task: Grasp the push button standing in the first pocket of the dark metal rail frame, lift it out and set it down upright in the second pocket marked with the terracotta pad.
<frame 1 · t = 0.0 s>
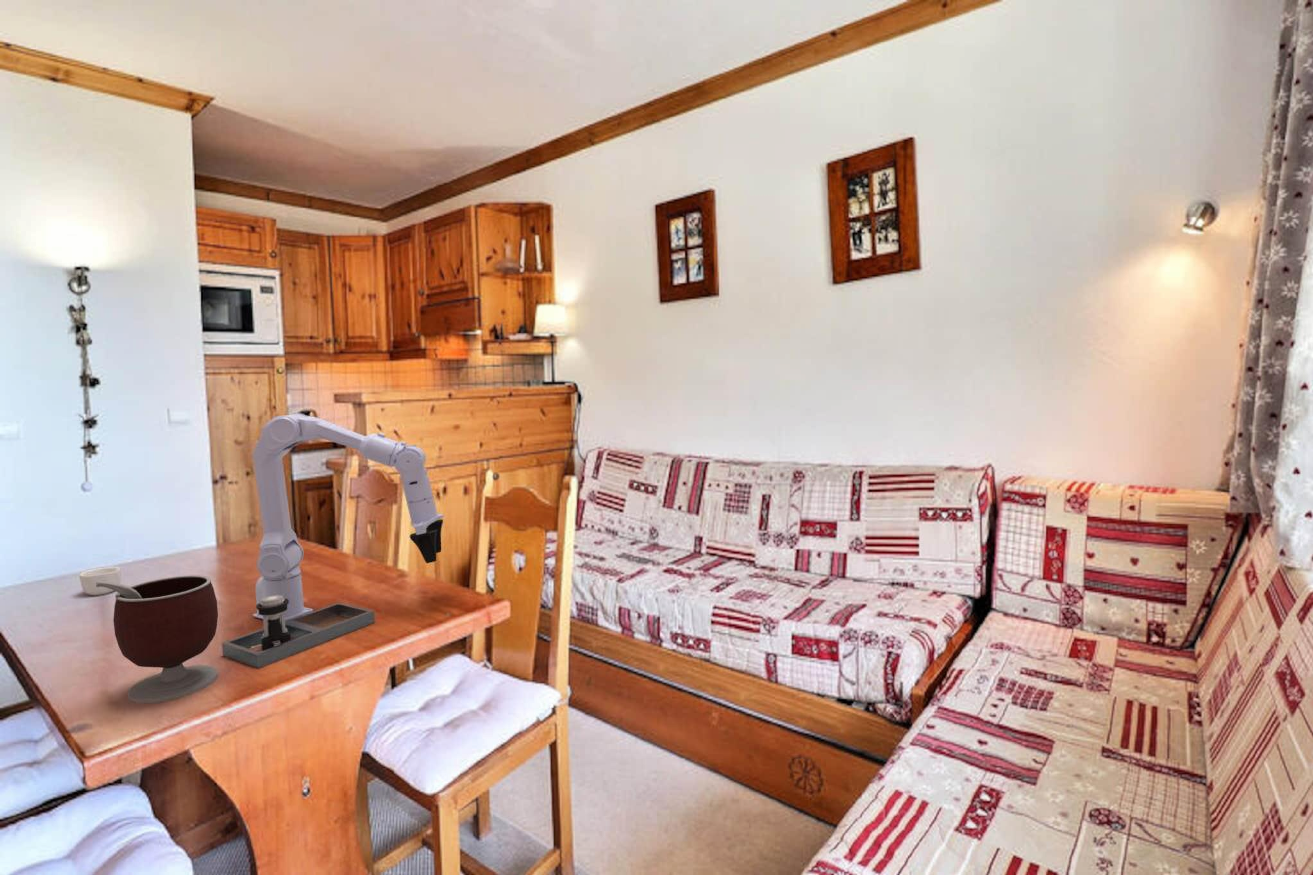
hand: (434, 557, 147), 11 cm above the table, tool pointing down, fingers open, 7 cm apart
mate gourd: (168, 687, 110), on the table
rail frame: (303, 638, 129), on the table
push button: (272, 650, 124), on the table
teacup: (101, 592, 162), on the table
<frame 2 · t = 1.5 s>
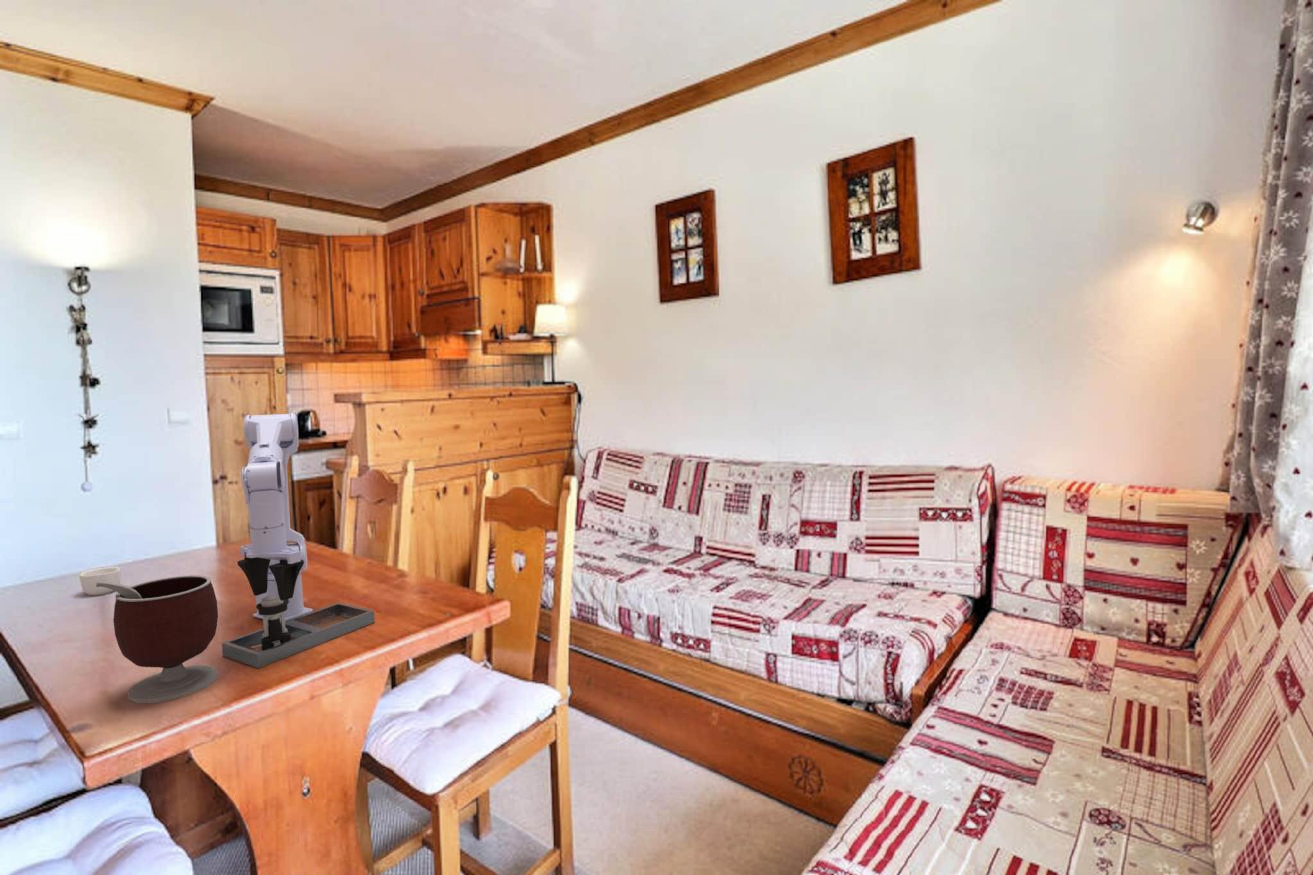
hand: (273, 596, 123), 10 cm above the table, tool pointing down, fingers open, 7 cm apart
nothing on the table moved.
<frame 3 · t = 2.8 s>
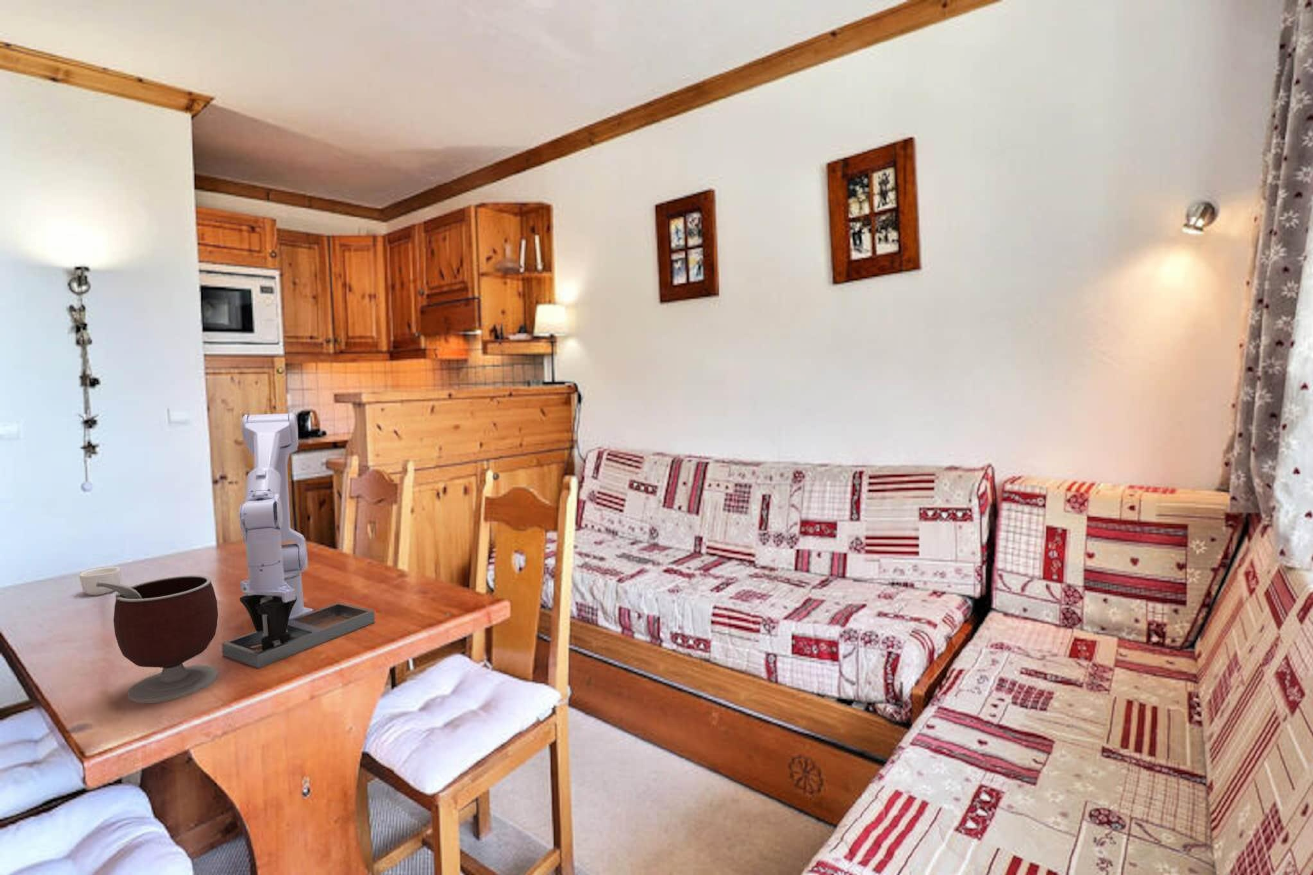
hand: (271, 632, 124), 3 cm above the table, tool pointing down, fingers closed on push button, 5 cm apart
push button: (272, 650, 124), on the table, touching gripper
everything else where it was.
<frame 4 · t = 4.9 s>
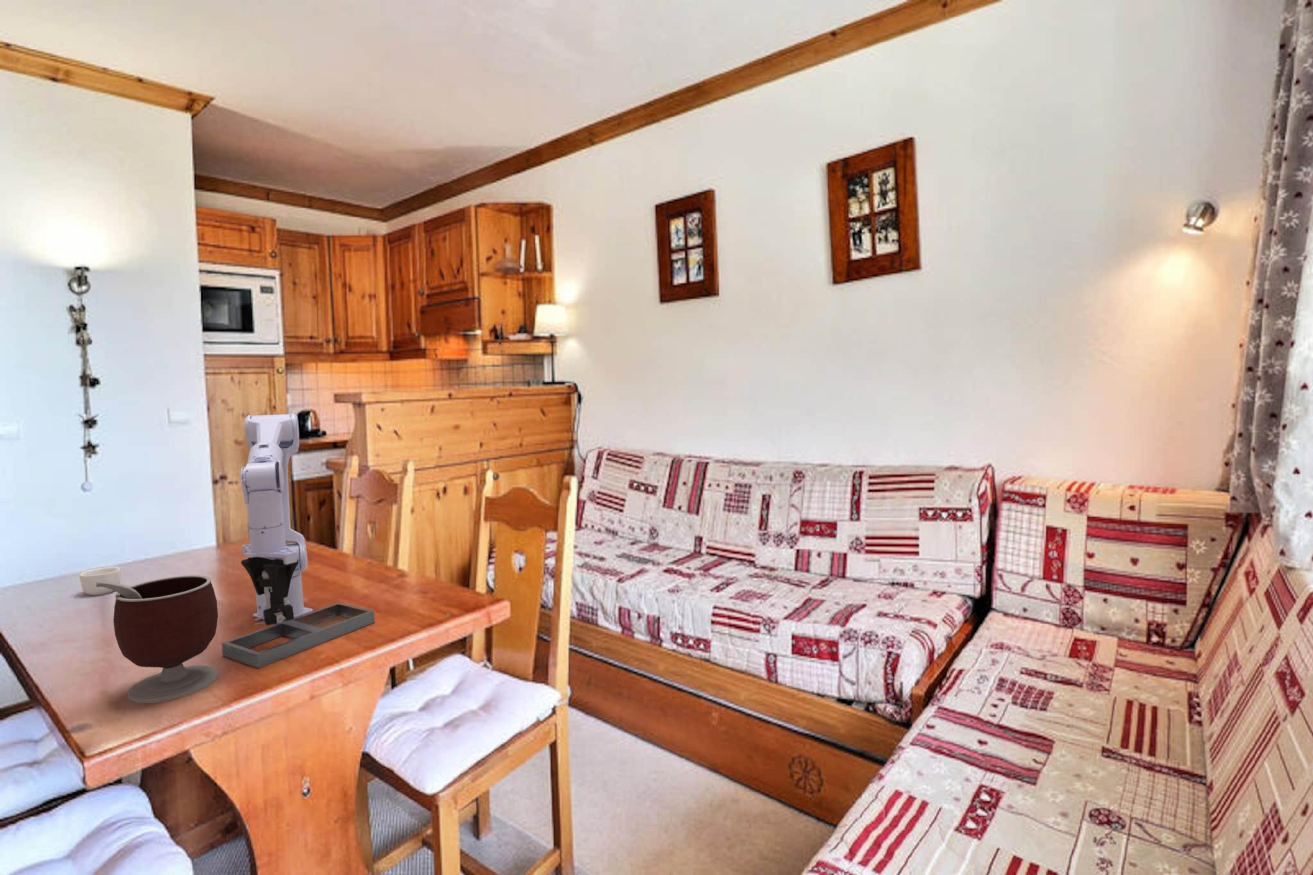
hand: (272, 595, 124), 10 cm above the table, tool pointing down, fingers closed on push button, 5 cm apart
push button: (275, 623, 124), point 5 cm above the table, touching gripper
everything else where it was.
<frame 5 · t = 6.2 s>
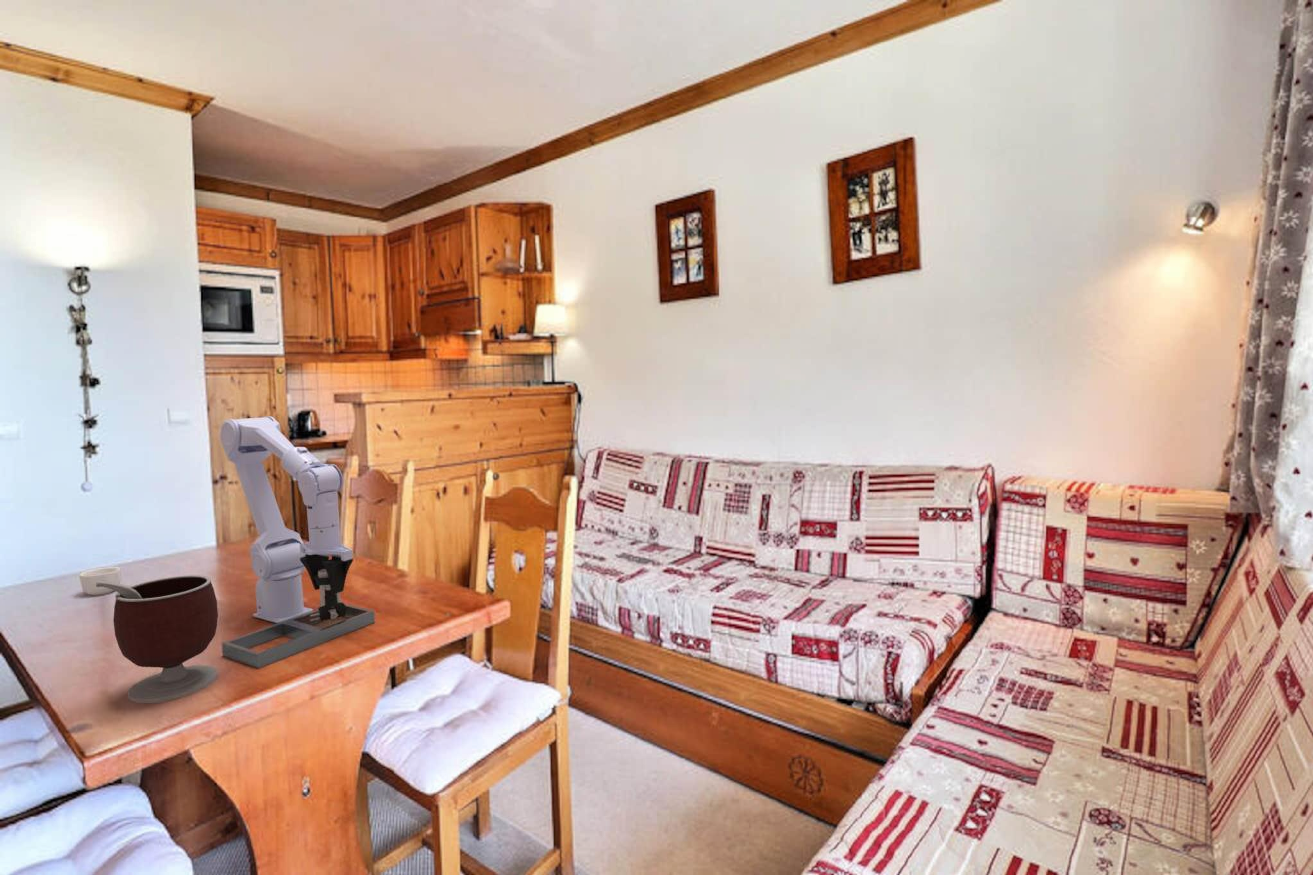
hand: (328, 590, 134), 8 cm above the table, tool pointing down, fingers closed on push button, 5 cm apart
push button: (328, 619, 134), point 2 cm above the table, touching gripper
everything else where it was.
when the fingers open (4 cm above the table, at t = 7.3 s): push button stays where it is, resting on rail frame.
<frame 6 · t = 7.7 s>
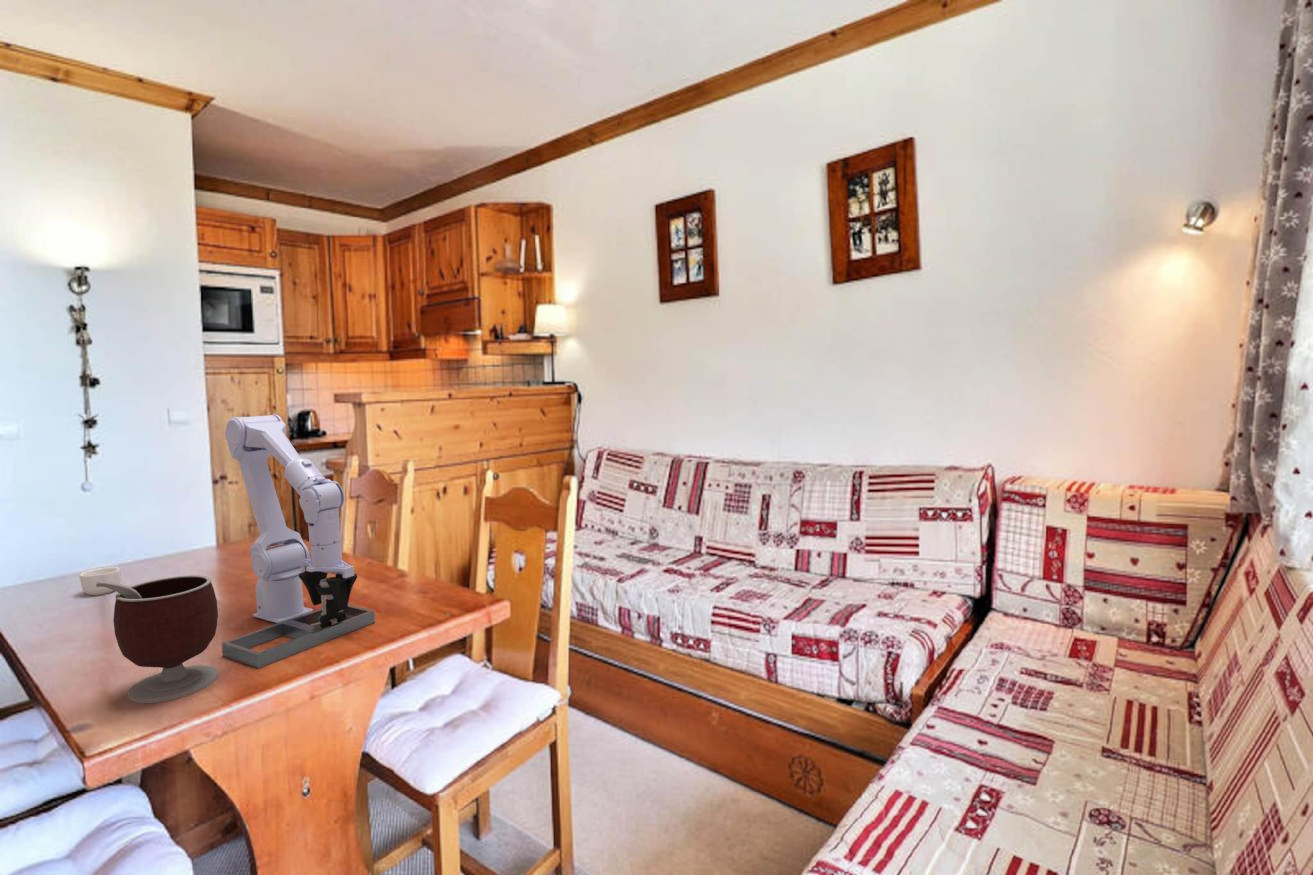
hand: (330, 606, 134), 4 cm above the table, tool pointing down, fingers open, 7 cm apart
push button: (329, 628, 134), resting on rail frame
everything else where it was.
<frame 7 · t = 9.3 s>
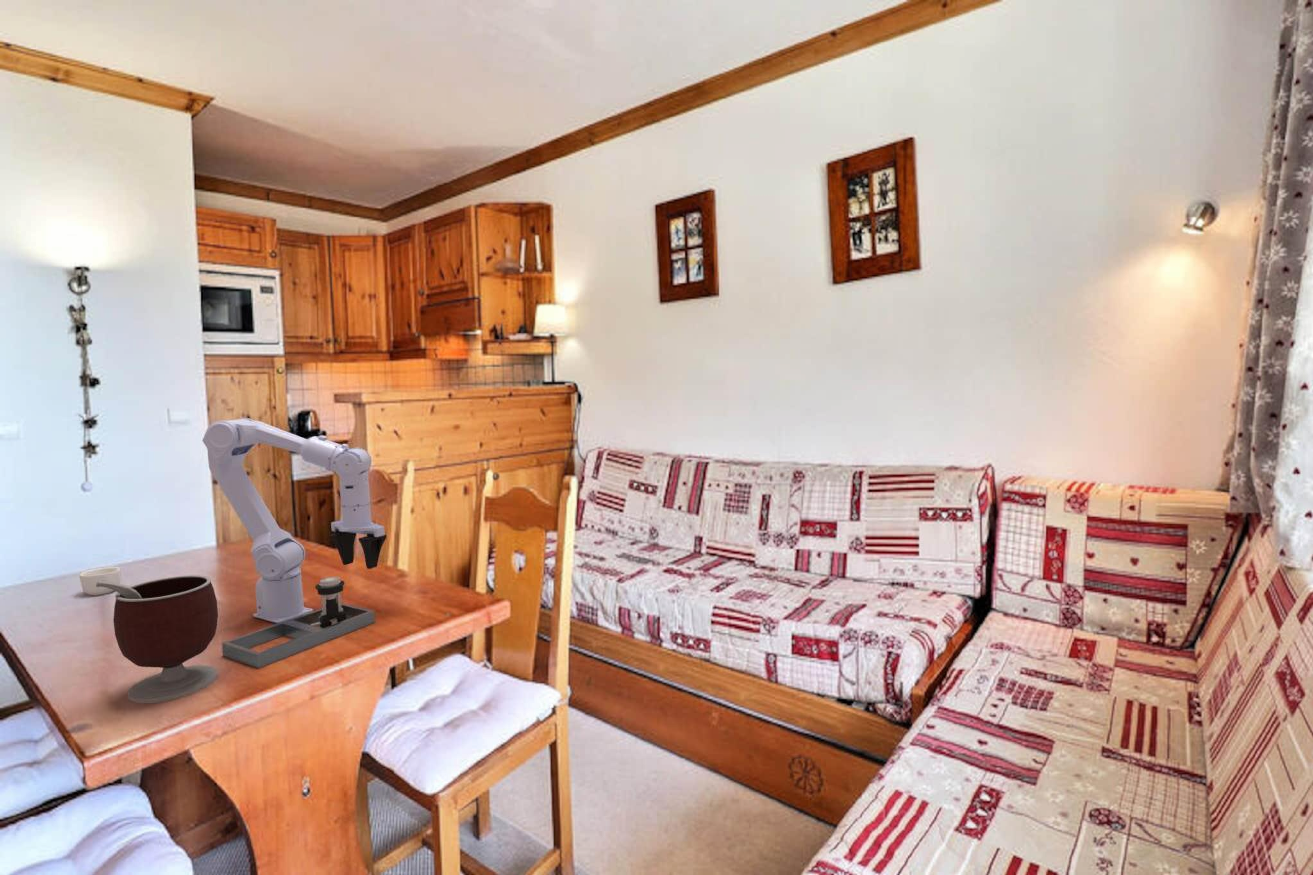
hand: (360, 565, 142), 10 cm above the table, tool pointing down, fingers open, 7 cm apart
nothing on the table moved.
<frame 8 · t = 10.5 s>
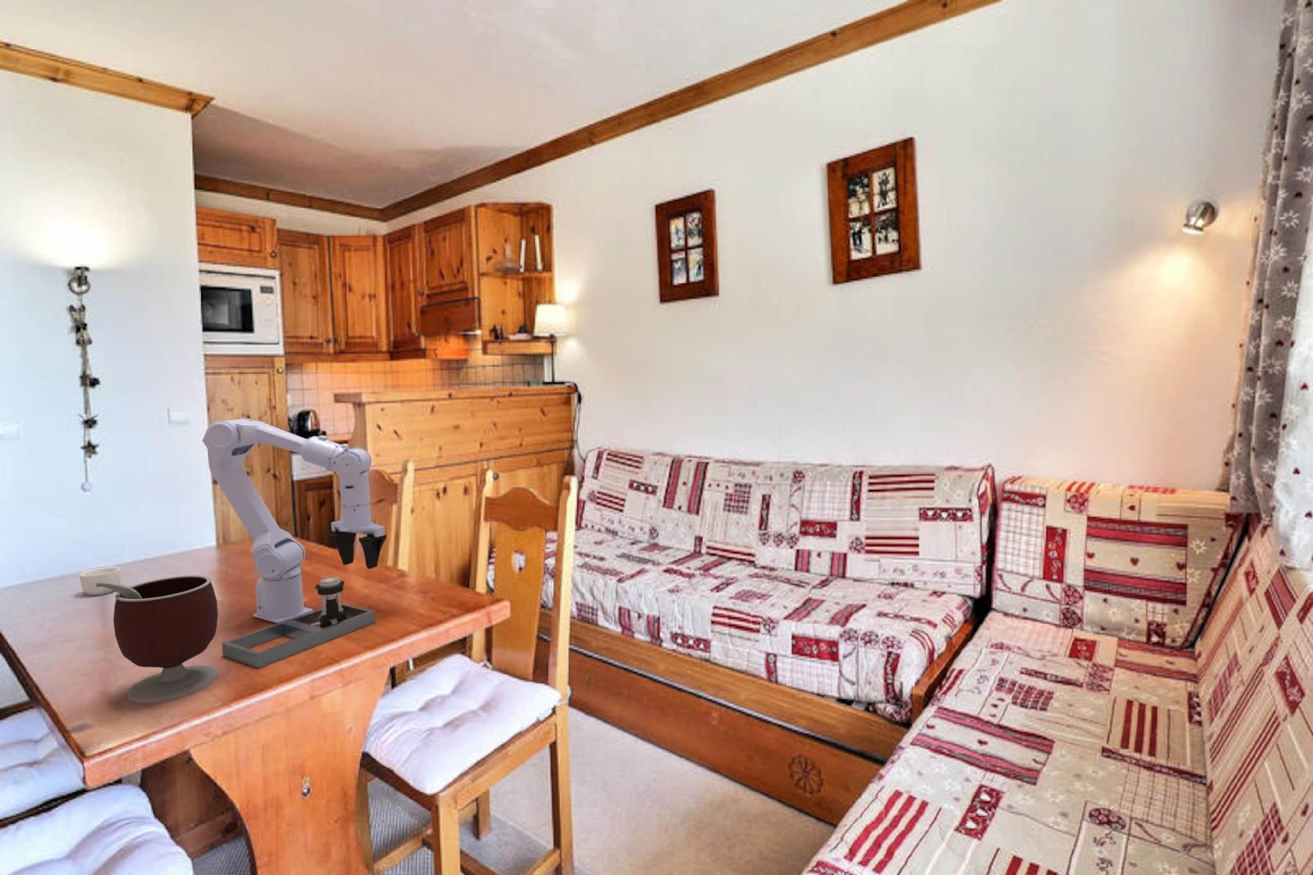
hand: (360, 565, 142), 10 cm above the table, tool pointing down, fingers open, 7 cm apart
nothing on the table moved.
at the end: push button 0.5 cm from the target spot on the rail frame, point 0.0 cm above the rail frame's base; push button tilted 0°; the gripper is holding nothing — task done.
